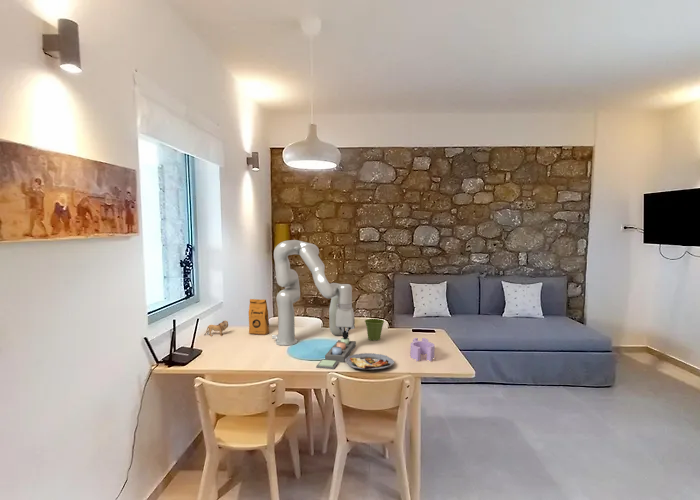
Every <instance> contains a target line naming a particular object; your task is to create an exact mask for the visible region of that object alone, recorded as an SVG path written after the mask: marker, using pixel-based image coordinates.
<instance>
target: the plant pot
mask: <svg viewBox="0 0 700 500" xmlns="http://www.w3.org/2000/svg"><path fill="white" fill-rule="evenodd" d="M364 322H365V326H366V331H367V332H366V333H367V340H369V341H380V340H381V337H382V336H381V335H382V331H383V326H384V323H385V320H383V319H379V318H367V319H365V320H364Z"/></svg>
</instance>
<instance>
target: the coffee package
mask: <svg viewBox="0 0 700 500" xmlns="http://www.w3.org/2000/svg"><path fill="white" fill-rule="evenodd" d="M269 333H270V320H269V310H268V304H267V299H257V298H256V299H255V298H250V299H249V307H248V334H251V335H252V334H253V335H260V336H261V335H263V336H264V335H265V336H266V335H267V334H269Z"/></svg>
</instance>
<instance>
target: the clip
mask: <svg viewBox="0 0 700 500" xmlns="http://www.w3.org/2000/svg"><path fill="white" fill-rule="evenodd" d="M435 349H436V348H435V343H433V342H430V341H429V339H428V338H425V337H422V339H421V340H418V337H414V338H413V339H412V342H410V352H409V353H410V355H409V356H411V357H410V358H411V359H412V358H413V359H412V360H414V359H416V360H415V361H416V362H417V361H419V360H420V361H421V355H425V354H427V355H426V361H427V360H429V361H432V362H433V360H434V359H435ZM433 358H434V359H433ZM432 359H433V360H432ZM420 361H419V362H420ZM429 361H428V362H429Z"/></svg>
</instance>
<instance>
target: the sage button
mask: <svg viewBox="0 0 700 500" xmlns="http://www.w3.org/2000/svg"><path fill="white" fill-rule="evenodd" d="M340 340H341V342H345V343H346V345H349V341H350V337H348V338H347V339H343V337H340Z"/></svg>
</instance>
